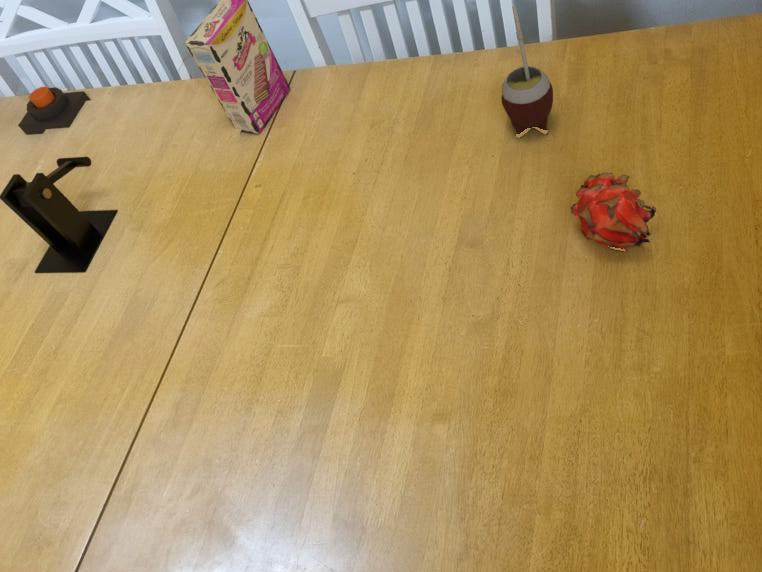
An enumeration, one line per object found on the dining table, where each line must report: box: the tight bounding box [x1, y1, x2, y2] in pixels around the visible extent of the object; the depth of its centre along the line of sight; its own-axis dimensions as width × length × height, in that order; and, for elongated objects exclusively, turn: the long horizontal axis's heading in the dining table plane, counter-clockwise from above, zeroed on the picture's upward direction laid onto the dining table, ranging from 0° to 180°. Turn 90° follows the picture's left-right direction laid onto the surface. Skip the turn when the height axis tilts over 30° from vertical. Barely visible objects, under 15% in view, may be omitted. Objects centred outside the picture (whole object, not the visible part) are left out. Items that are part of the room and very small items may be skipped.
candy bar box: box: [184, 0, 291, 135], centre depth 113 cm, size 11×5×16 cm, turn 160°
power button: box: [28, 86, 55, 108], centre depth 128 cm, size 4×4×2 cm
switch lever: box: [13, 156, 92, 207], centre depth 106 cm, size 12×5×2 cm, turn 171°
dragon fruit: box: [570, 172, 657, 249], centre depth 88 cm, size 8×8×12 cm
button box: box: [17, 86, 92, 136], centre depth 130 cm, size 10×8×4 cm
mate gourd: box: [501, 5, 554, 134], centre depth 99 cm, size 8×8×15 cm
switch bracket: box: [0, 172, 119, 274], centre depth 106 cm, size 12×9×13 cm
